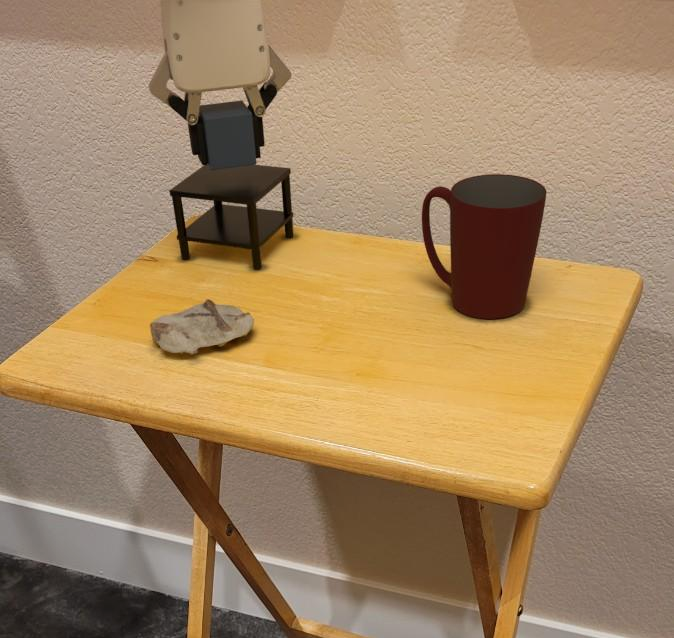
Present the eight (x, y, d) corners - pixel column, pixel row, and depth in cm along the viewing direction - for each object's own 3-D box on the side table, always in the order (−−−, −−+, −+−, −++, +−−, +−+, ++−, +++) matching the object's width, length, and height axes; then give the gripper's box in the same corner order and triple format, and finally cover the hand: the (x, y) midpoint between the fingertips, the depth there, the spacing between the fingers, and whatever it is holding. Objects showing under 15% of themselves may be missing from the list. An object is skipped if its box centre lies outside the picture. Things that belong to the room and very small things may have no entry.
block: (210, 170, 93) (204, 118, 90) (202, 155, 97) (196, 105, 93) (256, 164, 94) (252, 113, 91) (247, 150, 98) (242, 100, 94)
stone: (231, 312, 90) (227, 287, 88) (264, 340, 86) (262, 314, 84) (144, 338, 87) (138, 313, 85) (174, 369, 82) (169, 343, 80)
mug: (402, 306, 90) (404, 194, 82) (437, 272, 96) (443, 165, 88) (513, 330, 86) (527, 214, 78) (544, 293, 91) (559, 181, 84)
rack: (259, 270, 97) (253, 199, 92) (180, 259, 100) (169, 190, 95) (294, 236, 104) (290, 168, 99) (219, 226, 107) (211, 160, 101)
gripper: (284, -62, 87) (297, 138, 99) (111, -47, 84) (146, 157, 96) (303, -51, 82) (314, 158, 94) (119, -34, 79) (155, 179, 91)
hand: (229, 156), depth 95 cm, fingers closed on block, 5 cm apart
